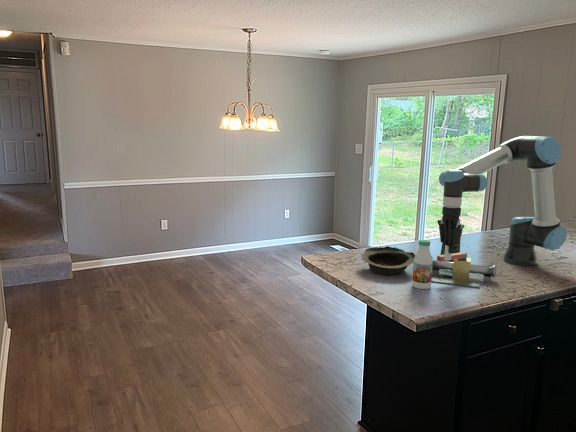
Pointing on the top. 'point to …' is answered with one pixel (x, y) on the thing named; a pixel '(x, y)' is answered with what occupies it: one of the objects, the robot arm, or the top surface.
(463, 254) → the lever
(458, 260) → the pipe run
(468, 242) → the top surface
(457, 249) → the coffee jar
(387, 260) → the stone bowl
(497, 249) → the top surface
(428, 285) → the milk bottle
